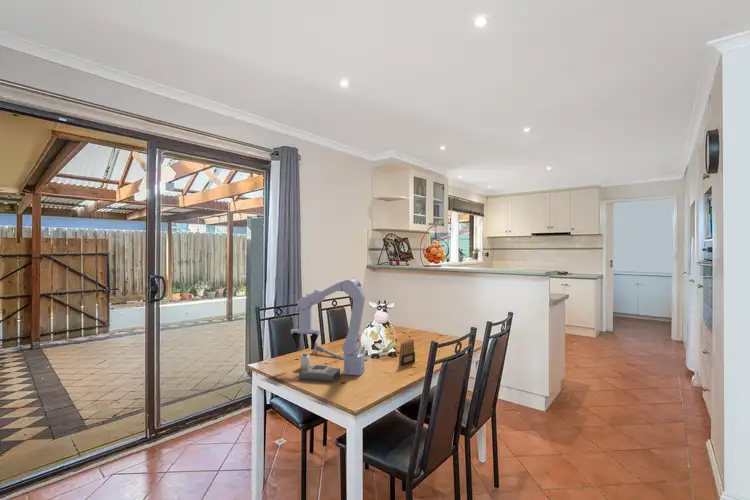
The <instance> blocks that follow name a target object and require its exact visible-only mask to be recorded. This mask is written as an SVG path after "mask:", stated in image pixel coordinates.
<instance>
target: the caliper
mask: <svg viewBox="0 0 750 500" xmlns="http://www.w3.org/2000/svg"><path fill="white" fill-rule="evenodd" d="M318 352H320V353H325V354H327V355H329V356H332V357H333V358H335V359H339V360H340V359H341V358H340V355H339V354H337V353H335V352H332V351H330V350H328V349H325V348H324V347H323V346H321V345H318V342H317V341H316V342H315V346H314V349H313V350H312V353H313V354H317V353H318Z"/></svg>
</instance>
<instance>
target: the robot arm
mask: <svg viewBox="0 0 750 500" xmlns="http://www.w3.org/2000/svg"><path fill="white" fill-rule="evenodd" d="M336 292H344V294H347V295H348V296H349V297H350V298H351V299H352V300H353V301H352V303H353V304H352V309H351V315H350V320H349V324H348V332H347V335H346V337H345V340H344V342H343V344H342V348H341V349H342V352H343V354H344V358H343V370H342V371H341V372H340V375H351V376H362V374H363V373H364V372H365V370H366V369H365V360H364V355H363V354H360V353H359V350H358V349H359V348H360V347H361V344H362V343H361V335H360V330H361V324H362V317H363V311H364V306H365V299H366V295H365V294H364V291H363V286H362V284H361V282H360V281H359V280H358V279H356V278H350V279H345V280H343V281H340V282H336V283H335V284H333V285H331V286H329V287H327V288H325V289H323V290H321V289H314V290H313V292H311V293H310V294H309V293H308V294H306V296H301V297H300V298H298V300H297V306H298V308H299V313H298V314H299V320H298V321H299V324H298V325H299V328H292V329H290V334H292V335H291V337H292V339H293V342H294V344H295V348H296V349H297V350H298V349H300V345H301V344H300V341H301V340H300V339H301V335H310V336H309V339H310V350H312V351H313V349H314V346H315V342H316V343H317V339H318V337H319V335H321V332H320V331H321V330H319V329H312V307H313V306H315V305H317V304H319V303H321V302H323V301H325V299H326V297H327V296H330V295H332V294H334V293H336Z"/></svg>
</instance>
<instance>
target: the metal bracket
mask: <svg viewBox="0 0 750 500" xmlns="http://www.w3.org/2000/svg"><path fill="white" fill-rule="evenodd" d="M364 346H365V345H362V346H360V348H359V349H358V350H359V353H360V354H363V355H364V361H367V359H368V358H369V356H366V354H367V352H368V350H367V351H366V350H365V347H366V346H365V347H364ZM339 356H340V358H341V359H342V360H344V353H343V354H342V353H341V354H340V355H339ZM340 358H339V359H340Z"/></svg>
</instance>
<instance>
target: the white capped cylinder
mask: <svg viewBox="0 0 750 500" xmlns="http://www.w3.org/2000/svg"><path fill="white" fill-rule="evenodd" d="M310 357H311V356H310V354H308V352H303V353H302V354H301V355H300V369H301V370H303V369H305V368H306V367H307V366H311V365H310V364H311V358H310Z"/></svg>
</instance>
